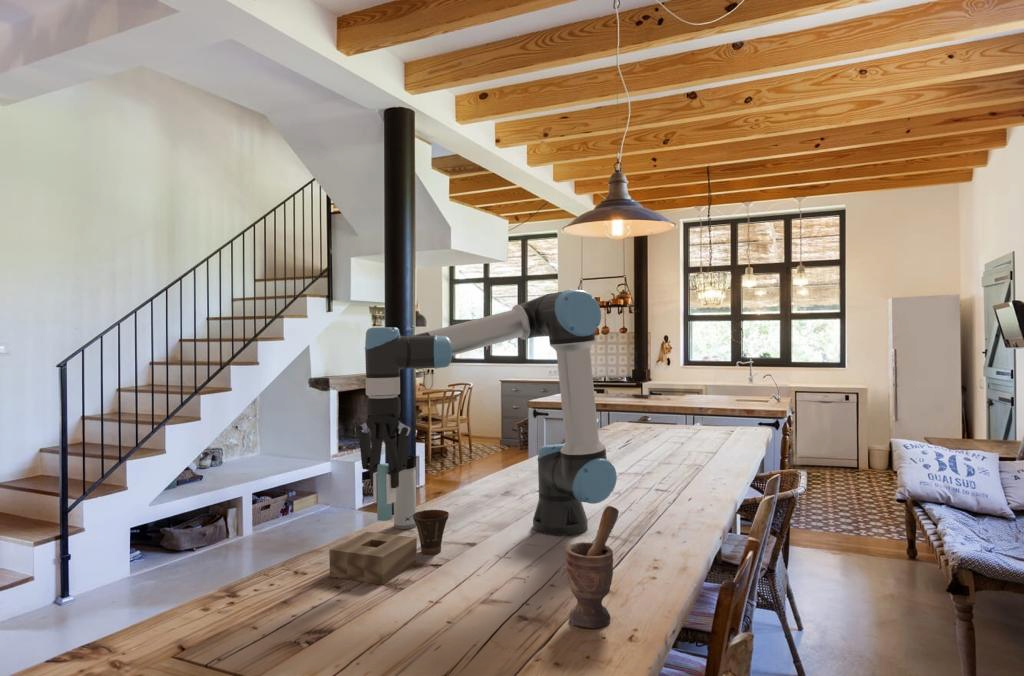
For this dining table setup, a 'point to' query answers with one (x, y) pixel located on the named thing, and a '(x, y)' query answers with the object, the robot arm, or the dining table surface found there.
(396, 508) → the travel mug
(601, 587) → the mortar and pestle
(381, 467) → the dowel
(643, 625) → the dining table surface
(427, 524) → the cup
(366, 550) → the socket block
